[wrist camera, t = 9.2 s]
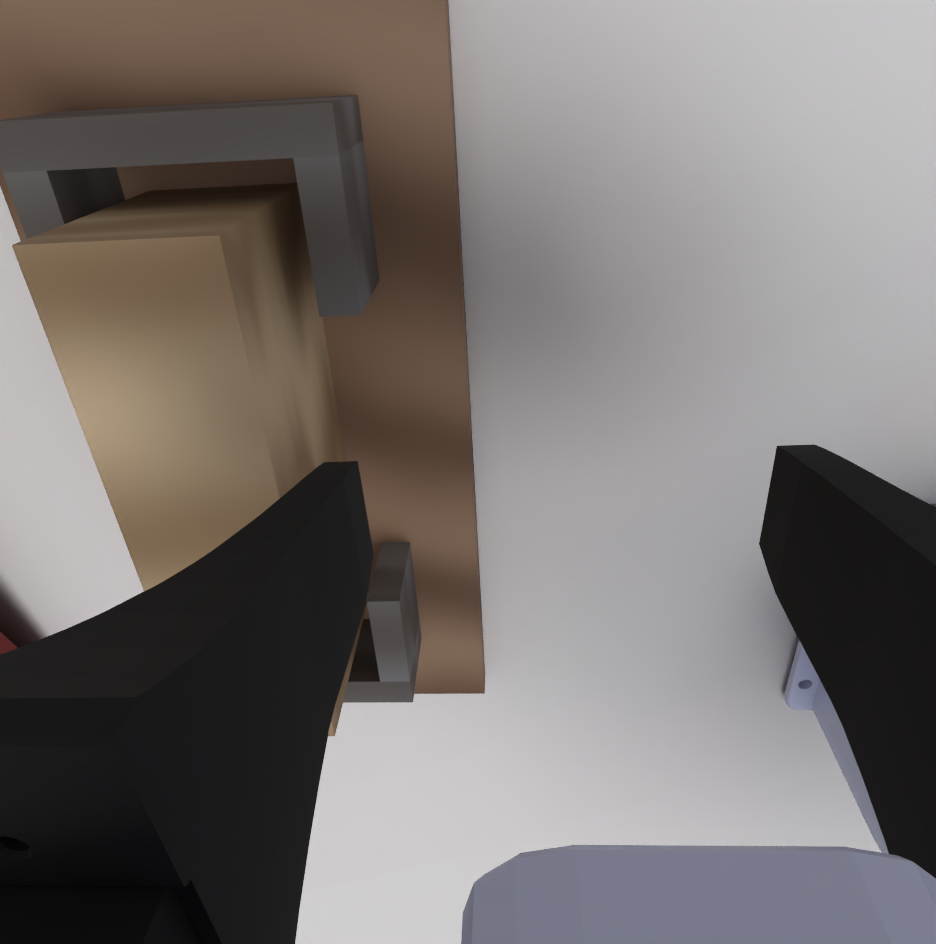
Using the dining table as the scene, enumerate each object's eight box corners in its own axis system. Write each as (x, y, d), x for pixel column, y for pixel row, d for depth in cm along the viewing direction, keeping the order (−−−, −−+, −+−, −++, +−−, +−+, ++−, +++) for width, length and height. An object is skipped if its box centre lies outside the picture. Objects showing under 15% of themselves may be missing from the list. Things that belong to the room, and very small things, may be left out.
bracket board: (484, 674, 28) (482, 759, 25) (198, 675, 29) (158, 758, 26) (444, -61, 16) (429, -91, 13) (-51, -27, 17) (-192, -46, 13)
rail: (368, 596, 25) (334, 736, 20) (260, 597, 25) (199, 735, 20) (299, 182, 18) (219, 235, 13) (149, 190, 18) (11, 245, 13)
